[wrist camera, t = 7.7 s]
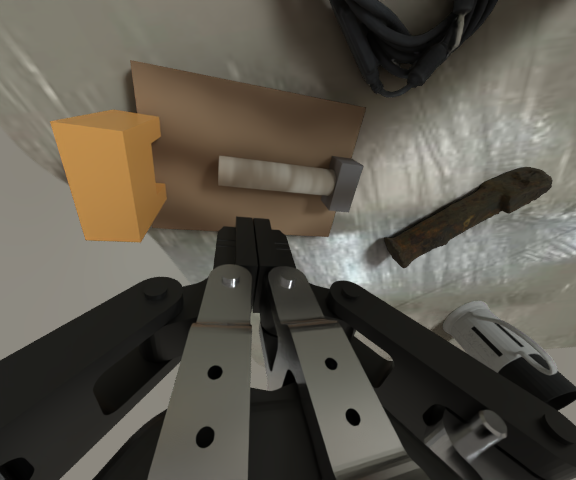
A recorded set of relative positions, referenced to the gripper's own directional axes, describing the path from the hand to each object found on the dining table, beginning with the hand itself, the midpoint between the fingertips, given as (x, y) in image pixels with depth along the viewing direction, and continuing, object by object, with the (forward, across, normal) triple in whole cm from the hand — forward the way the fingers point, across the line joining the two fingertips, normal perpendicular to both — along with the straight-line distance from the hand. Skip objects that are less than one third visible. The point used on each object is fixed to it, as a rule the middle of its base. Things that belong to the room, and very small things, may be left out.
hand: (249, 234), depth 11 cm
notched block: (+12, +8, +1) cm, 14 cm away
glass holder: (+14, -41, +21) cm, 48 cm away
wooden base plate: (+14, -1, +1) cm, 14 cm away
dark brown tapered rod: (+14, -26, +2) cm, 30 cm away
